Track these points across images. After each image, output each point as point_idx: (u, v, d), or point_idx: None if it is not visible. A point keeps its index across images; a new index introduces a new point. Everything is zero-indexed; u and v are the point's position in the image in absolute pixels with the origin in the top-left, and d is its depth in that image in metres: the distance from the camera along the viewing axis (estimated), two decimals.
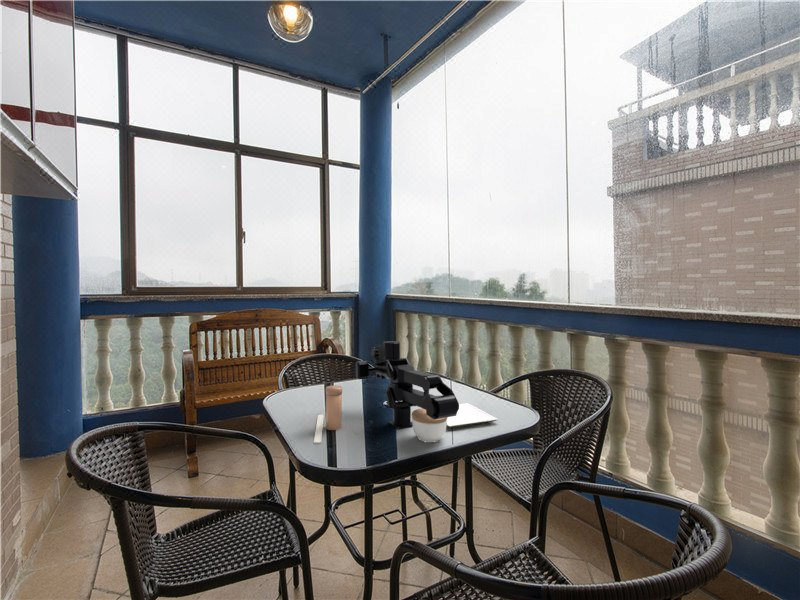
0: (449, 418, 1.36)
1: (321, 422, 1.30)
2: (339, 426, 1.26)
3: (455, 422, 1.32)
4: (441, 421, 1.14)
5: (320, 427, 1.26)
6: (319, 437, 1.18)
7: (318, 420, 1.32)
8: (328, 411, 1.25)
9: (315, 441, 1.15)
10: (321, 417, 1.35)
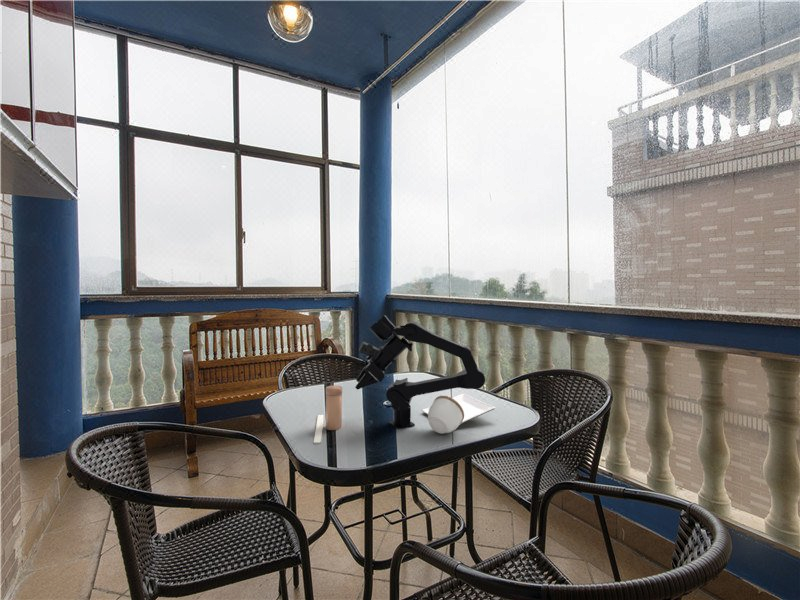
0: None
1: (321, 422, 1.30)
2: (339, 426, 1.26)
3: None
4: (463, 415, 1.22)
5: (320, 427, 1.26)
6: (319, 437, 1.18)
7: (318, 420, 1.32)
8: (328, 411, 1.25)
9: (315, 441, 1.15)
10: (321, 417, 1.35)
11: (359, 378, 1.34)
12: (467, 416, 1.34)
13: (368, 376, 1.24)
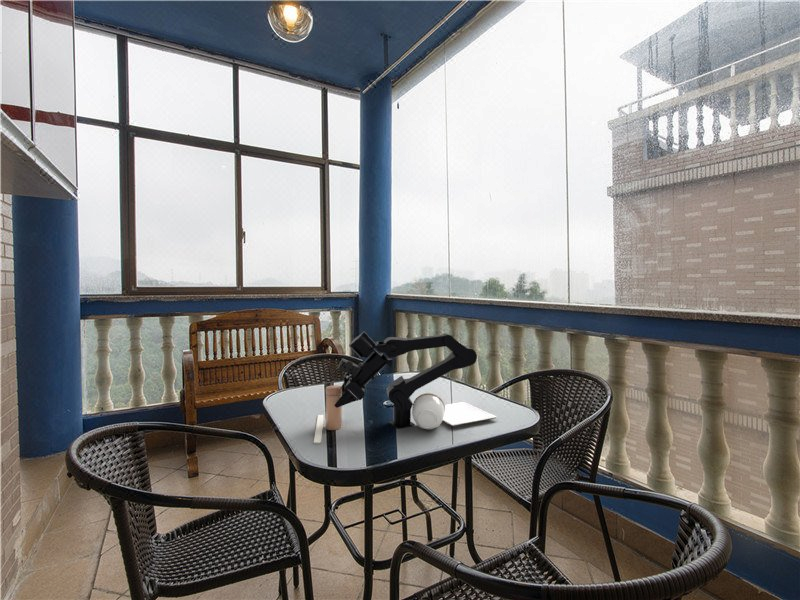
0: (449, 417, 1.37)
1: (321, 422, 1.30)
2: (339, 426, 1.26)
3: (456, 421, 1.33)
4: (434, 395, 1.28)
5: (320, 427, 1.26)
6: (319, 437, 1.18)
7: (318, 420, 1.32)
8: (328, 411, 1.25)
9: (315, 441, 1.15)
10: (321, 417, 1.35)
11: None
12: (468, 420, 1.34)
13: (348, 394, 1.22)
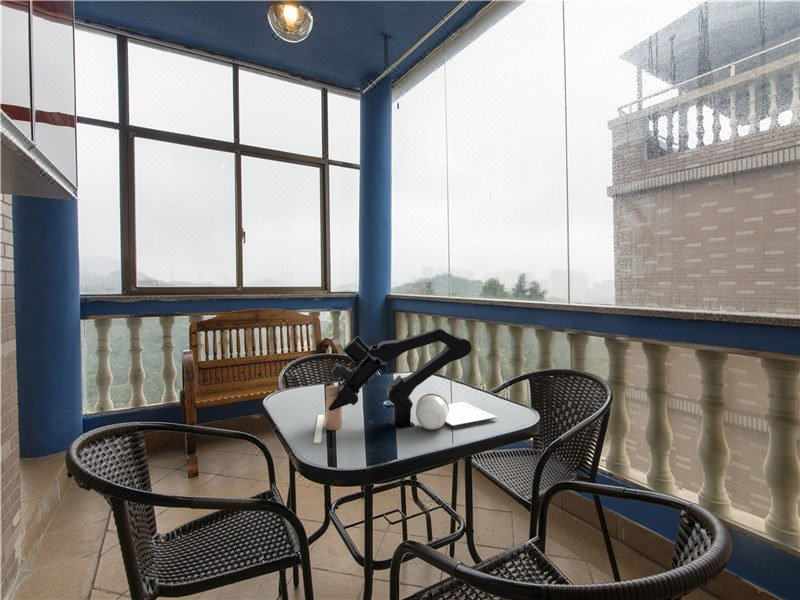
0: (449, 417, 1.37)
1: (321, 422, 1.30)
2: (339, 426, 1.26)
3: (456, 421, 1.33)
4: (441, 397, 1.28)
5: (320, 427, 1.26)
6: (319, 437, 1.18)
7: (318, 420, 1.32)
8: (328, 411, 1.25)
9: (315, 441, 1.15)
10: (321, 417, 1.35)
11: None
12: (468, 420, 1.34)
13: (341, 397, 1.24)
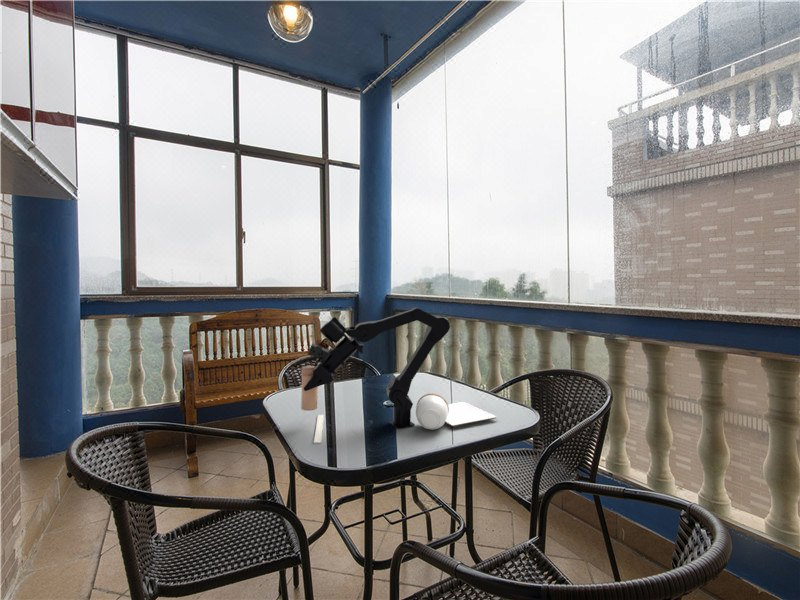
0: (449, 417, 1.37)
1: (321, 422, 1.30)
2: (314, 407, 1.25)
3: (456, 421, 1.33)
4: (441, 397, 1.28)
5: (320, 427, 1.26)
6: (319, 437, 1.18)
7: (318, 420, 1.32)
8: (303, 391, 1.24)
9: (315, 441, 1.15)
10: (321, 417, 1.35)
11: None
12: (468, 420, 1.34)
13: (316, 377, 1.22)
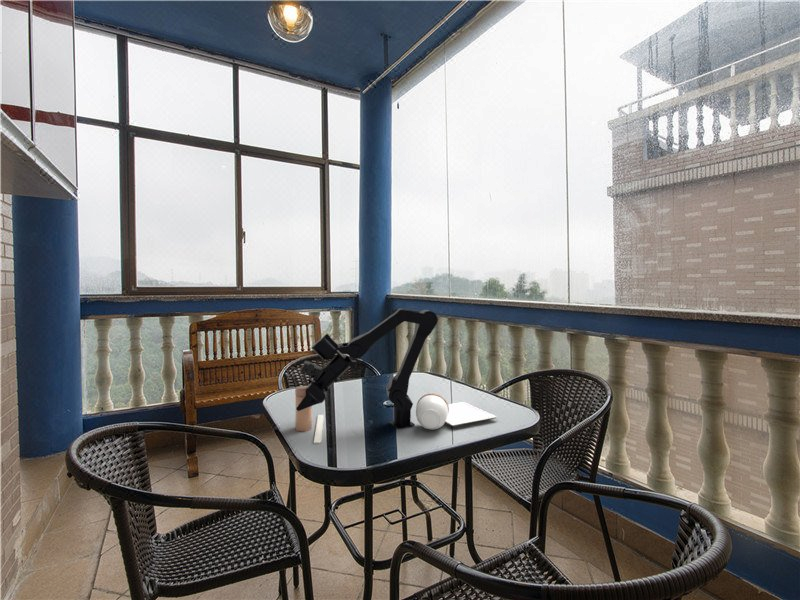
0: (449, 417, 1.37)
1: (321, 422, 1.30)
2: (308, 427, 1.24)
3: (456, 421, 1.33)
4: (441, 397, 1.28)
5: (320, 427, 1.26)
6: (319, 437, 1.18)
7: (318, 420, 1.32)
8: (297, 412, 1.24)
9: (315, 441, 1.15)
10: (321, 417, 1.35)
11: None
12: (468, 420, 1.34)
13: (309, 397, 1.20)
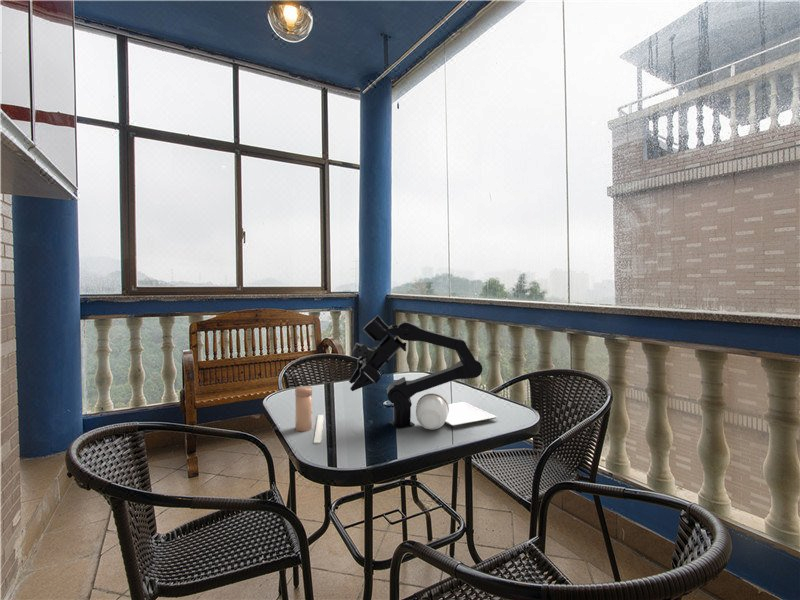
0: (449, 417, 1.37)
1: (321, 422, 1.30)
2: (308, 427, 1.24)
3: (456, 421, 1.33)
4: (441, 397, 1.28)
5: (320, 427, 1.26)
6: (319, 437, 1.18)
7: (318, 420, 1.32)
8: (297, 412, 1.24)
9: (315, 441, 1.15)
10: (321, 417, 1.35)
11: (352, 379, 1.32)
12: (468, 420, 1.34)
13: (363, 377, 1.23)
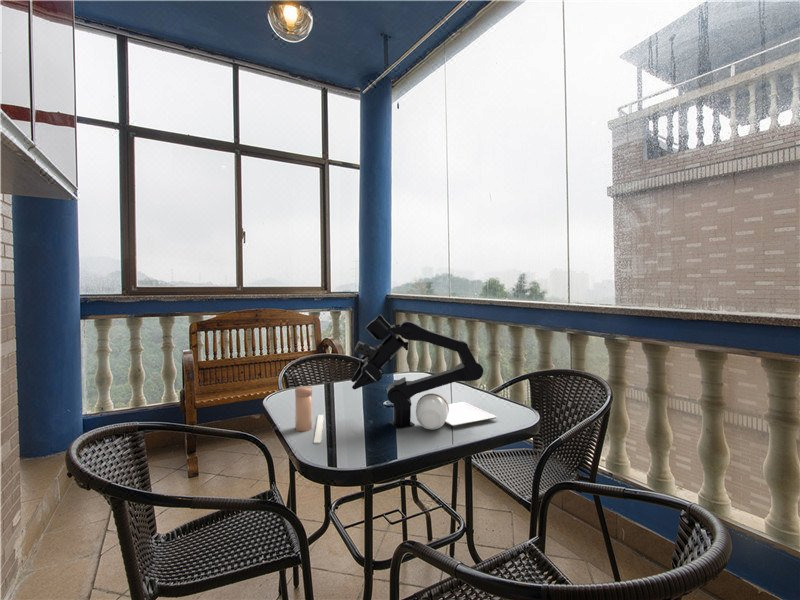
0: (449, 417, 1.37)
1: (321, 422, 1.30)
2: (308, 427, 1.24)
3: (456, 421, 1.33)
4: (441, 397, 1.28)
5: (320, 427, 1.26)
6: (319, 437, 1.18)
7: (318, 420, 1.32)
8: (297, 412, 1.24)
9: (315, 441, 1.15)
10: (321, 417, 1.35)
11: (354, 378, 1.32)
12: (468, 420, 1.34)
13: (365, 376, 1.23)
